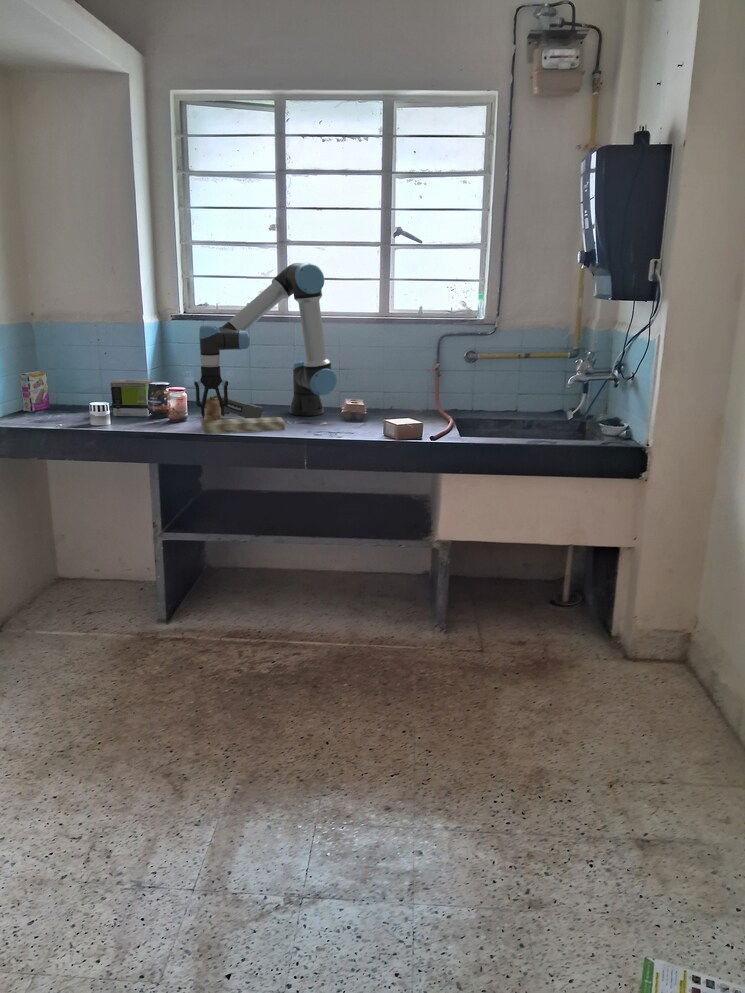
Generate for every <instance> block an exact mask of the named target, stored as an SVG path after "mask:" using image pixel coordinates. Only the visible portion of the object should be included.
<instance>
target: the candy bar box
mask: <svg viewBox="0 0 745 993" xmlns="http://www.w3.org/2000/svg"><path fill="white" fill-rule="evenodd" d="M19 380H20V381H19V382H20V383H19V384H20V391H21V401H22V403H21V404H22V409H23V412H26V413H34V412H39V411H44V410H48V409H50V398H49V397H50V396H49V389H48V388H49V387H48V385H49V384H48V375H47V371H43V370H42V371H40V370H38V371H31V372H25V373H24V372H23V373H19Z"/></svg>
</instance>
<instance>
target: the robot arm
mask: <svg viewBox="0 0 745 993" xmlns="http://www.w3.org/2000/svg"><path fill="white" fill-rule="evenodd" d="M325 279H326V278H325V274H324V273H323V270H322V269H321V268H320V267H319V266H318V265H316V264H314V263H311V262H294V263H291V264H289V265H288V266H286V267H285V268H284V269H283V270H281V272H279V273H278V274H277V275H275V277H274V278H273V279H272V280H271V284H270V285H269V286H267V287H266V288H265V289H264V290H263V291H262V292H260V293H259V294H258V295H257V296H256V297H255V298H254V299H252V300H251V301H250V302H248V303H247V304H246V305H245V306H244V307H243V308H241V310H239V312H237V313H236V314H235V315H234V316H233V317H231V318H230V319H229V320H228V321H227V322H226V323H225V324H224V325H222V326H218V325H214V324H213V325H211V324H208V325H201V326H200V327H199V333H198V334H199V335H198V336H199V337H198V339H199V350H200V352H199V353H200V356H199V357H200V375H201V377H200V379H199V380H195V381H194V382H193V385H194V387H195V404H196V406H197V408H200V414H201V416H204V417H203V418H204V419H203V420H207V410H206V407H205V403H206V398H207V397H208V394H209V390H215V395H217V397H218V399H219V404H220V407H219V408H220V419H222V415H224V406H227V405H228V398H229V397H228V393H229V392H228V386H229V381H228V380H224V379H222V375H221V374H222V373H221V366H220V365H221V352H220V351H226V350H227V351H229V350H230V351H231V350H232V351H233V350H236V351H237V350H239V351H241V350H246V349H248V348H249V347H250V343H251V342H250V335H249V332H248V330H249V329H251V327H252V326H253V325H254V324H256V323H257V322H258V321H259V320H261V318H263V317H264V316H265V315H266V314H267V313H268V312H270V311H271V310H272V309H274V307H275V306H276V305H277V304H279V303H280V302H281V301H282V300H283V299H288V298H289V297H291V295H293V299H294V300H295V301H296V302H297V303H298V308H299V309H298V310H299V315H300V323H301V329H302V330H301V331H302V336H303V337H302V338H303V344H304V351H305V361H295V362H294V363H293V368H292V374H293V375H292V376H293V379H292V380H293V397H292V400H291V401H290V402H291V404H290V407H289V413H290V414H291V415H293V416H304V417H306V416H309V417H310V416H318V415H319V416H320V415H323V414H324V406H323V402H322V399H321V397H320V396H327V395H330V394H331V393H332V392H333V391H334V390H335V388H336V386H337V382H338V380H337V379H338V378H337V375H336V373H335V371H333V370H332V362H331V360H330V359H328V357H327V352H326V343H325V337H324V336H325V335H324V328H323V320H322V313H321V304H320V299H321V298H322V297H323V287H324V285H325ZM221 384H222V386H223V396H224V403H223V402H222V399H221V396H222V395H221V392H220V389H219V387H220V385H221ZM201 385H202V386H204V389H203V394H202V398H201V397H200V395H201V394H200V386H201ZM224 416H225V415H224Z"/></svg>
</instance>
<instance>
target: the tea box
mask: <svg viewBox="0 0 745 993" xmlns="http://www.w3.org/2000/svg"><path fill="white" fill-rule="evenodd" d="M152 380H153V379H116V380H114V381H111V382H110V391H111V403H112V414H113V417H145V418H146V417H149V416H151V415H152V414H151V413H150V414H149V410H148V387H149V384H150V383H152V384H153V381H152Z"/></svg>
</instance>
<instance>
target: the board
mask: <svg viewBox="0 0 745 993" xmlns="http://www.w3.org/2000/svg"><path fill="white" fill-rule="evenodd" d="M285 424H286V423H285V420H284V419H283V418H282V417H281V416H276V417H275V416H274V417H260V418H245V417H244V418H224V419H222V418H221V419H220V420H204V419H201V420H200V427H201V431H202V433H203V434H204V435H206V434H226V433H247V432H248V433H250V432H252V433H253V432H267V431H268V432H269V431H272V432H274V431H285V430H286V429H285V428H286V426H285Z"/></svg>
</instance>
